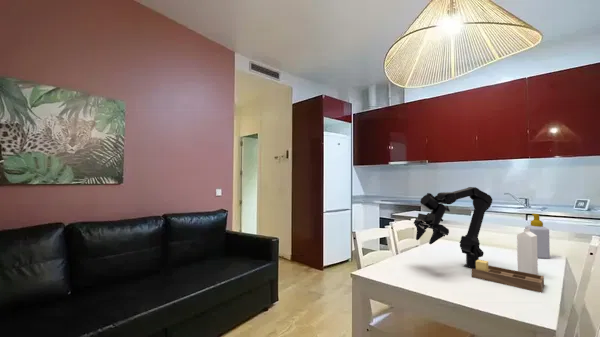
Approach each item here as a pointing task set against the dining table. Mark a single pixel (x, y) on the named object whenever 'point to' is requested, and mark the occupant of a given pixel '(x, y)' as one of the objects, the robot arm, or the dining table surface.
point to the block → (482, 265)
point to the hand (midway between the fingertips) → (423, 241)
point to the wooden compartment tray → (511, 278)
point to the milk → (527, 252)
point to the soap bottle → (540, 237)
